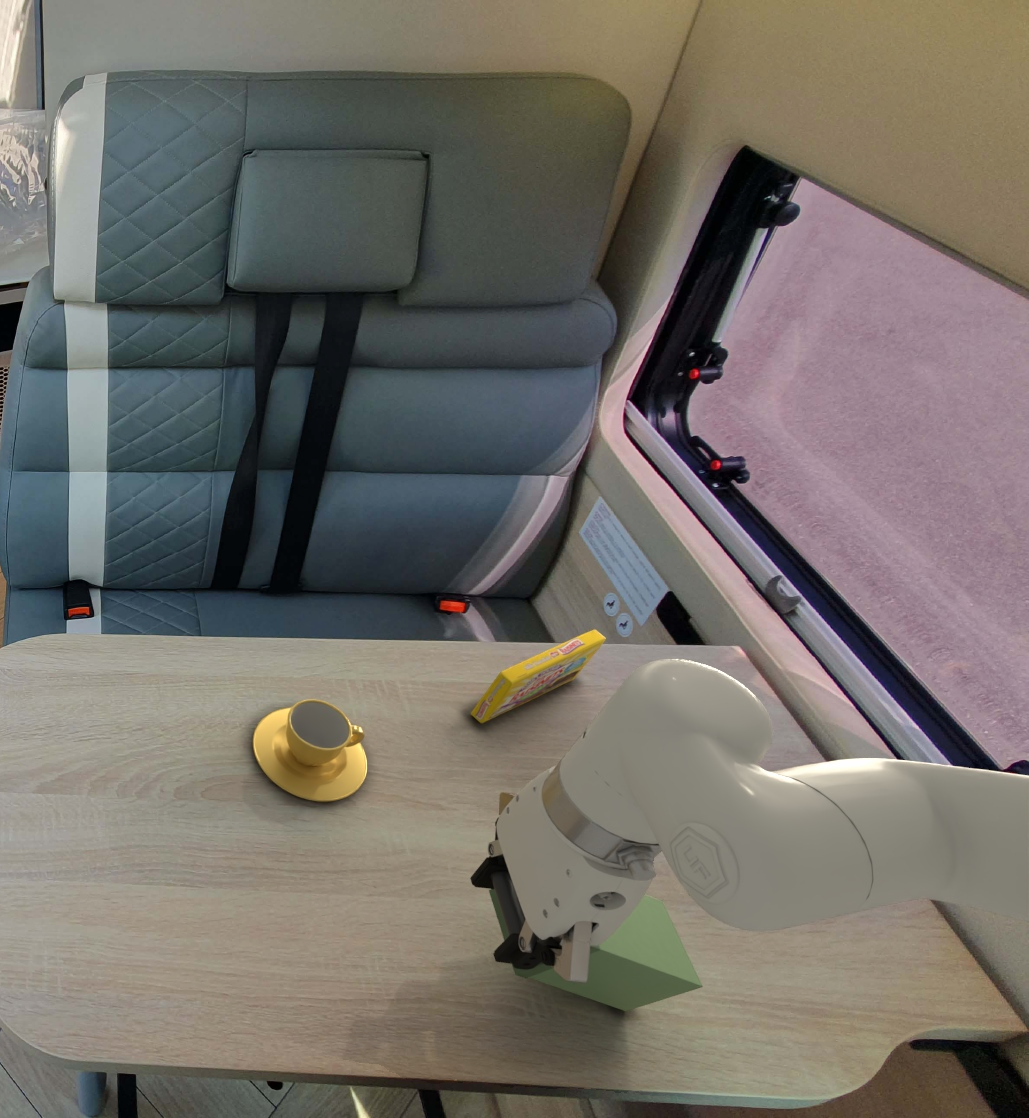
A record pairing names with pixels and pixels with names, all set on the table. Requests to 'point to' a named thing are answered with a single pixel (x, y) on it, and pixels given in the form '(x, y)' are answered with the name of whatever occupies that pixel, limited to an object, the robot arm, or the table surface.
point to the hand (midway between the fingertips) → (501, 920)
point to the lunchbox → (614, 954)
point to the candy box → (537, 675)
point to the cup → (311, 751)
